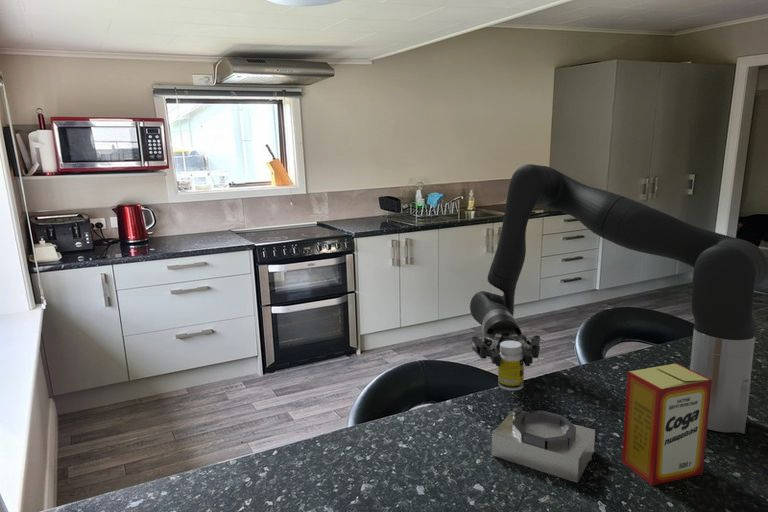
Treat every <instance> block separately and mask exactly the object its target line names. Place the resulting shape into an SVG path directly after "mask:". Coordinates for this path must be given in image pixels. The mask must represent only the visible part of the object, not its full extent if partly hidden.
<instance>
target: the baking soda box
mask: <svg viewBox="0 0 768 512" xmlns="http://www.w3.org/2000/svg"><path fill="white" fill-rule="evenodd" d="M711 385H712V380H711V379H709V378H707V377H705V376H703V375H701V374H699V373H697V372H694V371H692V370H690V368H688V367H686V366H683V365H682V364H680V363H676V362H675V363H670V364H666V365H659V366H658V365H657V366H653V367H647V368H642V369H641V368H640V369H636V370H630V371H629V370H628V371H627V377H626V392H625V405H624V406H625V407H624V422H623V439H622V453H621V455H622V457H621V463H623V464H624V465H625V466H627V467H628V468H629V469H630V470H631V471H633V472H634V473H635V474H637V476H639V477H641V478H642V479H643V480H645V482H647V483H648V484H649V485H651V486H652V487H654V486H656V485H661V484H666V483H669V482H673V481H678V480H681V479H686V478H687V479H688V478H690V477H694V476H695V477H696V476H698V475H703V474H704V465H705V454H706V444H707V433H708V429H707V426H708V415H709V405H710V395H711Z"/></svg>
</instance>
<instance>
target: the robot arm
mask: <svg viewBox="0 0 768 512" xmlns="http://www.w3.org/2000/svg"><path fill="white" fill-rule="evenodd" d="M507 190H508V191H507V195H506V203H505V208H504V213H503V219H502V225H501V230H500V236H499V240H498V243H497V244H498V245H497V247H496V250H495V253H494V256H493V258H492V259H493V260H492V262H491V265H490V268H489V270H488V274H487V279H486V280H487V282H488V283H489V285H491V286H493V288H496V289H498V290H499V291H501V292H502V293H503V295H500V294H496V293H492V292H488V291H482V290H480V291H478V292H476V293H475V294H474V295H473V296H472V298H471V300H470V303H469V310H470V314H471V316H472V318H473V319H474V320H475V321H476V322H477V323H478V324H479V325H481V326H482V328H481V329H482V335H483V337H484V338H479V336H472V337H471V349H472V350H473V351H474V352H475V354H476V355H477V356H478V357H479V358H480V359H483V360H485V359H487V358H489V359H490V361H491V363H492V364H493V365H495V366H496V367H498V366H500V354H499V353H500V343H501V342H503V341H517V342H520V343H521V344H522V352H521V353H522V354H523V356H524V366H525V367H530V366H531V365H532V364H533V362H534V359H538V358H539V356H540V349H541V336H540V335H534V336H533V337H530V338H527V336H525V335H524V334H523V333H522V330H521V328H520V326H519V325H518V322H517V320H516V319H515V317H514V313H515V294H516V288H517V284H518V280H519V279H520V275H521V273H522V269H523V267H524V263H525V259H526V253H527V251H526V250H527V242H526V235H527V234H526V232H527V227H528V222H529V220H530V217H531V215H532V213H533V210H534V208H535V207H545V208H549V209H553V210H556V211H559V212H560V213H563V214H567V215H569V216H571V217H572V218H575V219H576V220H577V221H579V222H580V224H582V225H583V226H584V227H586V228H587V230H590V232H592V233H593V234H595V235H597V236H598V237H600V238H602V239H604V240H607V241H609V242H611V243H613V244H615V245H617V246H620V247H623V248H625V249H628V250H631V251H634V252H637V253H638V252H639V253H643V254H648V255H654V256H657V257H658V256H659V257H663V258H668V259H671V260H675V261H677V262H681V263H683V264H685V265H688V266H689V267H692V268H693V273H692V286H691V288H692V289H691V314H692V316H693V321H694V322H693V332H692V334H693V335H692V343H691V356H690V367H689V369H690V370H692V371H694V372H697V373H699V374H701V375H703V376H705V377H707V378H709V379H711V380H712V385H711V395H710V405H709V415H708V426H707V430H710V431H714V432H720V433H738V434H739V433H740V434H746V433H745V432H746V424H747V417H748V410H749V409H748V406H749V399H750V392H751V391H750V390H751V382H752V381H751V377H752V366H753V359H754V358H753V357H754V351H755V350H754V349H755V341H756V334H757V333H756V332H757V323H758V322H757V320H756V319H755V317H754V316H753V307H754V305H753V304H754V294H755V293H754V292H755V288H756V287H758V286H759V285H760V284H762V283H763V282H764V281H765V280H766V278H767V277H768V257H767V255H766V254H765V252H764V251H763V250H762V249H761V248H760V247H758V246H757V245H755V244H754V243H752V242H750V241H747V240H744V239H741V238H738V237H733V236H730V235H725V234H722V233H720V232H719V233H718V232H715V231H712V230H708V229H705V228H701V227H699V226H695V225H693V224H690V223H688V222H685V221H684V220H681V219H679V218H677V217H675V216H672V215H671V214H668V213H665V212H662V211H661V210H658V209H656V208H654V207H651V206H649V205H647V204H644V203H641V202H639V201H637V200H634V199H631V198H629V197H626V196H623V195H621V194H617V193H614V192H612V191H609V190H608V191H607V190H604V189H601V188H597V187H593V186H589V185H586V184H584V183H582V182H579V181H577V180H576V179H574V178H572V177H570V176H568V175H566V174H564V173H562V172H561V171H560V170H559V171H558V170H557V169H555V168H553V167H551V166H547V165H539V164H532V163H531V164H530V163H529V164H523V165H521V166H519V167H518V168H517V169H516V170H515V171H514V173H513V174H512V176H511V178H510V181H509V185H508V189H507Z"/></svg>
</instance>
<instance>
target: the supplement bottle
mask: <svg viewBox="0 0 768 512" xmlns="http://www.w3.org/2000/svg"><path fill="white" fill-rule="evenodd" d="M521 352H522V344H521V343H520V342H517V341H503V342H501V343H500V353H499V354H500V366H497V367H498V369H497V374H498V376H497V377H498V382H497V383H498V386H499V387H500V388H501V389H503V390H504V391H519V390H522V388H523V389H524V381H525V379H524V376H525V373H524V372H525V367H524V366H525V364H524V356H523V354H522V353H521Z"/></svg>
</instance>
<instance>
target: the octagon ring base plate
mask: <svg viewBox="0 0 768 512" xmlns="http://www.w3.org/2000/svg"><path fill="white" fill-rule="evenodd" d="M595 438H596V429H592V428H590V427H585V426H582V425H578V424H574V423H572V422H571V421H570V419H568V418H567V417H566V416H564V415H563V414H559V413H553V412H550V411H545V410H541V409H540V410H533V411H524V410H523V407H521V406H514V407H512V411H510V413H509V414H508V415H507V416H506V417H505V419H503V420H502V422H501V423H499V425H498V426H497V427H496V428H495V429H494V430H493V432H491V456H493V457H496V458H499V459H502V460H504V461H508V462H511V463H515V464H517V465H520V466H523V467H527V468H529V467H530V469H532V470H536V471H539V472H543V473H545V474H548V475H551V476H554V477H557V478H561V479H564V480H566V481H567V480H568V481H570V482H573V483H576V484H578V483H579V481H580V479H581V477H582V476H583V474H584V471H585V470H586V468H587V466H588V464H589V462H590V460H591V458H592V456H593V454H594V452H595Z"/></svg>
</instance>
